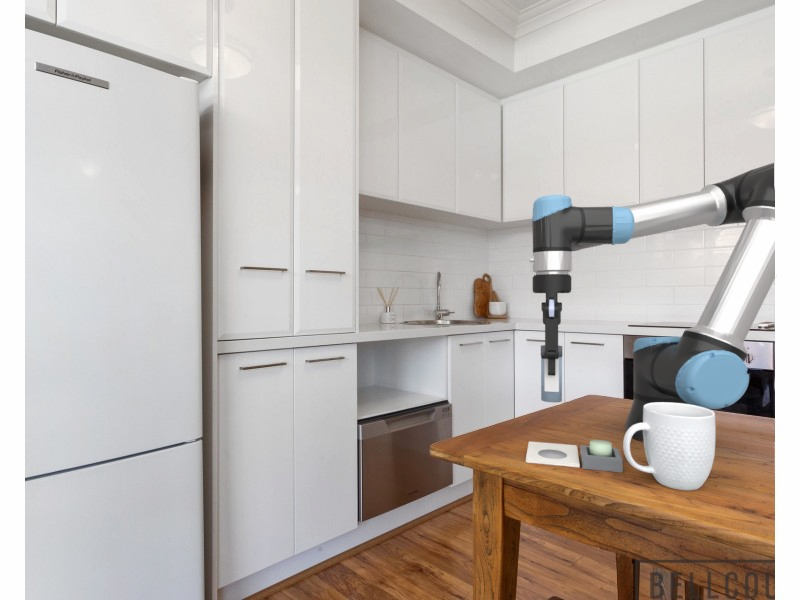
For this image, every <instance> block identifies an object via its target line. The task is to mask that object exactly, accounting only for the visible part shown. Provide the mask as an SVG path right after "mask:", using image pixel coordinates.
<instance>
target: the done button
mask: <svg viewBox="0 0 800 600" xmlns="http://www.w3.org/2000/svg"><path fill="white" fill-rule="evenodd" d="M589 446H590V455H594V456H605V457H612V448H613V444H612V442H610V441H608V440H603V439H592V440H590V441H589Z"/></svg>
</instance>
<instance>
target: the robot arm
mask: <svg viewBox="0 0 800 600" xmlns="http://www.w3.org/2000/svg"><path fill="white" fill-rule="evenodd" d="M532 205H533V206H532V218H531V225H532V257H530V258H529V262H530V263H532V272H533V273H535V274H534V275H533V276H532V293H534V294H545V302H541V312H542V323H543V325H544V345H545V352H544V355H541V354H540V359H545V391H549V392H559V359H558V357H559V352H558V346H559V325H561V324H562V323H561V321H562V320H561V319H562V316H561V315H562V312H563V303H562V302H563V301H562V302H559V301H558V300H559V299H558V294H569V293H571V292H572V276H571V274H569V273H570V272H572V271H573V270H572V269H573V267H572V266H573V264H572V263H573V262H572V257H573V256H572V255H573V252H576V251H580V250H584V249H589V248H594V247H598V246H602V245H603V246H604V245H612V246H614V245H622V244H624V245H625V244H627V243H629V241H630V240H633V239H637V238H643V237H646V236H653V235H657V234H661V233H667V232H671V231H677V230H681V229H688V228H693V227H697V226H701V225H707V226H709V227H712V228H713V227H718V226H725V225H734V224H744V223H745V225H744V227H743V230H742V232H741V233H740V235H739V238H738V240H737V242H736V244H735V246H734V248H733V249H732V252H731V254H730V256H729V258H728V260H727V262H726V265H725V266H724V268H723V270H722V273H721V275H720V277H719V278H718V281H717V282H716V284H715V287H714V288H713V291H712V293H711V295H710V297H709V299H708V300H707V303H706V305H705V307H704V309H703V311H702V313H701V315H700V317H699V319H698V320H697V321H698V322H697V323H696V325H694V326H692V327H689V328H686V329H684V331H683V332H682V335H681V336H649V337H639V338H636V339H635V341H634V342H633V349H632V350H633V351H632V356H633V357H632V359H633V361H632V363H633V368H632V369H633V370H632V373H633V377H632V378H633V401H632V404H631V406H630V410H629V412H628V415H627V417H626V421H625V425H624V426H625V429H624V430H625V433H626V432H627V430H628V429H629V428H630V427H631V426H633V425H634V424H637V423H643V407H644V405H645V404H648V403H655V402H670V403H682V404H690V405H695V406H700V407H704V408H707V409H710V410H718V409H719V410H720V409H722V408H724V409H725V408H727V407H730V406H731V405H734V404H735V403H736V402H738V401H739V400H740V399H741V398H742V397H743V396H744V394H745V393H746V391H747V390H748V387H749V383H750V374H749V373H748V367H747V364H746V363H745V361H746V359H747V357H748V354H749V353H748V351H747V349H746V347H745V345H744V344H745V343H744V342H745V341H746V339H747V336H748V334H749V331H750V329H751V328H752V326H753V323H754V321H755V319H756V317H757V316H758V313H759V312H760V309H761V308H762V306H763V304H764V302H765V300H766V297H767V295H768V293H769V292H770V289H771V287H772V285H773V283H774V281H775V279H776V277H775V193H774V162H771V163H768V164H766V165H762V166H759V167H757V168H754V169H750V170H748V171H746V172H743V173H741V174H739V175H736V176H733V177H731V178H729V179H725V180H722V181H720V182H716V183H711V184H707V185H705V186H703V187H702V188H701V190H700V191H694V192H690V193H689V192H688V193H685V194H681V195H676V196H670V197H666V198H660V199H656V200H651V201H646V202H641V203H635V204H632V205H627V206H615V205H612V206H575V205H574V206H573V203H572V199H571V196H569V195H562V194H552V195H551V194H550V195H545V196H540V197H538V198H536V199H535V200H534V202H533V204H532ZM632 438H633V439H635V440H638V441H641V442H644V441H643V440H644V439H643V430H639V431H637V432H635V433H634V434H633V436H632ZM632 438H631V439H632Z"/></svg>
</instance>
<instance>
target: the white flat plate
mask: <svg viewBox="0 0 800 600" xmlns="http://www.w3.org/2000/svg"><path fill="white" fill-rule="evenodd" d="M526 450H527V451H526V456H525V463H529V464H539V465H550V466H561V467H570V468H571V467H572V468H580V466H581V465H580V459H579V452H578V451H579V450H578V445H577V444H576V445H575V444H565V443H555V442H554V443H553V442H542V441H541V442H539V441H530V440H529V441H528V445H527V449H526Z"/></svg>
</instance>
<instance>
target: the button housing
mask: <svg viewBox="0 0 800 600" xmlns="http://www.w3.org/2000/svg"><path fill="white" fill-rule="evenodd" d="M580 461H581V469H583V470H584V469H585V470H591V471H593V470H594V471H601V472H602V471H603V472H613V473H614V472H615V473H621V474H622V473H623V469H624V467H623V465H624V462H623V461H624V460H623V457H622V455H621V452H620V449H619V447H612V457H605V456H594V455H590V445H587V444H586V445H584V444H581V445H580Z"/></svg>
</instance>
